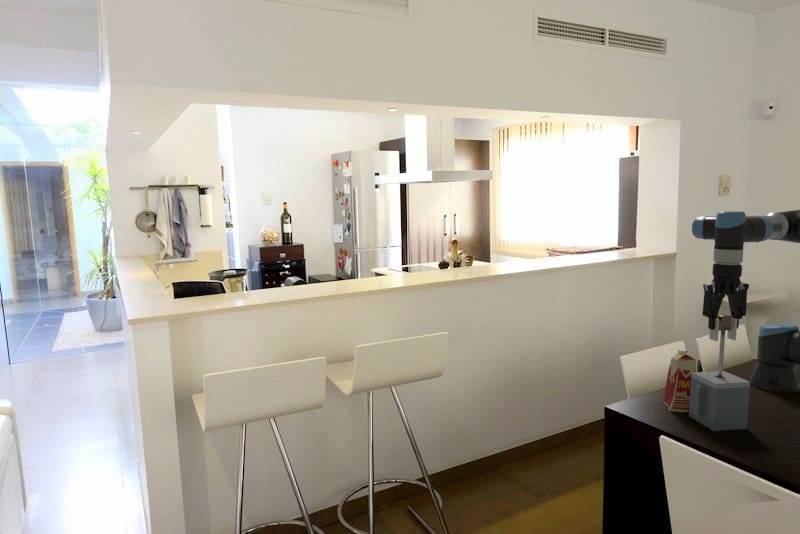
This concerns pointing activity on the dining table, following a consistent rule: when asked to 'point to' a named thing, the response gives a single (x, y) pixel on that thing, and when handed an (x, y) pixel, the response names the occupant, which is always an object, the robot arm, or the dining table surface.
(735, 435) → the dining table surface
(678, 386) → the milk carton
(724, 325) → the plunger
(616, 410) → the dining table surface
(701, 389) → the grey box with hole
